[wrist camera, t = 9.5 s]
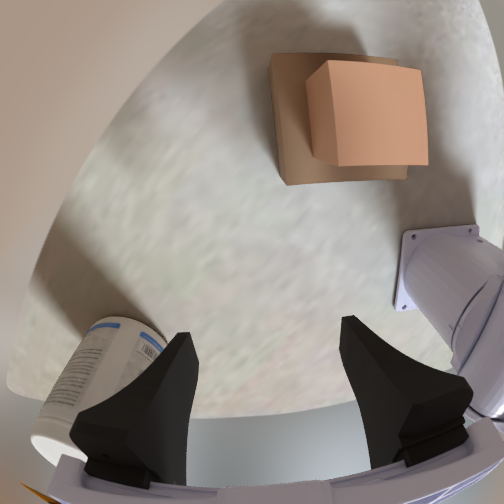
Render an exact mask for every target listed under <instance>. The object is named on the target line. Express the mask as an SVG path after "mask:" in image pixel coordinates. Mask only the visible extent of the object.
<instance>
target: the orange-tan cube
mask: <svg viewBox="0 0 504 504" xmlns="http://www.w3.org/2000/svg"><path fill="white" fill-rule="evenodd" d="M305 83H306V91H307V99H308V108H309V118H310V127H311V138H312V150H313V158H316V159H319V160H322V161H325V162H328V163H330V164H333V165H336V166H363V165H428V135H427V120H426V108H425V98H424V90H423V82H422V75H421V70H417V69H412V68H406V67H399V66H392V65H385V64H376V63H367V62H354V61H337V60H327V61H326V62H325V63H324V64H323V65H322V66H321V67H320V68H319V69H318V70H317V71H315V72H314V73H313V74H312V75H311V76H310V77H309V78H308V79H307V80H306V81H305Z"/></svg>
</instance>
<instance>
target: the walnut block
mask: <svg viewBox="0 0 504 504" xmlns="http://www.w3.org/2000/svg"><path fill="white" fill-rule="evenodd" d="M327 60H337V61H354V62H367V63H376V64H385V65H392V66H398V60H396V59H389V58H382V57H374V56H364V55H353V54H336V53H279V54H272V56H271V60H270V64H269V68H268V73H269V81H270V89H271V97H272V105H273V114H274V123H275V132H276V141H277V151H278V161H279V172H280V177H281V179H282V180H283V181H284V182H285V184H286V185H287V186H288V185H299V184H312V183H327V182H343V181H363V180H393V179H407V165H363V166H336V165H333V164H330V163H328V162H325V161H322V160H319V159H316V158H313V150H312V138H311V127H310V118H309V108H308V99H307V91H306V83H305V81H306V80H307V79H308V78H309V77H310V76H311V75H312V74H313V73H314V72H315V71H317V70H318V69H319V68H320V67H321V66H322V65H323V64H324V63H325V62H326V61H327Z"/></svg>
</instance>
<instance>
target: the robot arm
mask: <svg viewBox="0 0 504 504" xmlns="http://www.w3.org/2000/svg"><path fill="white" fill-rule="evenodd" d="M469 229H470V230H469ZM479 231H480V227H479V226H478V225H477V224H472V225H462V226H451V227H440V228H430V229H419V230H409V231H406V232H404V234H403V238H402V250H401V260H400V269H399V277H398V284H397V291H396V298H395V304H394V309H395V311H396V312H402V311H407V310H412V309H416V308H419V309H420V311H421V312H422V313H423V314H424V316H425V317H426V318H427V319H428V321H429V322H430V323H431V324H432V326H433V327H434V328H435V329H436V331H437V332H438V333H439V335H440V336H441V337H442V339H443V340H444V341H445V342H446V344H447V345H448V346H449V348H450V349H451V351H452V352H453V357H452V360H451V362H450V363H451V364H452V366H453V367H454V369H455V370H456V372H457V374H456V375H453V374H450V373H446V372H443V371H440V370H437V369H434V368H431V367H429V366H426V365H424V364H422V363H420V362H418V361H416V360H414V359H412V358H410V357H408V356H406V355H405V354H403V353H401V352H400V351H398V350H397V349H395V348H394V347H392V346H391V345H389V344H388V343H387V342H385V341H384V340H383V339H381V338H380V337H379V336H378V335H376V334H375V333H374V332H373V331H372V330H370V329H369V328H368V327H367V326H366V325H365V324H363V323H362V322H361V321H360V320H359V319H358V318H357V317H355V316H354V315H352V316H346V317H342V322H341V334H340V345H339V351H340V355H341V359H342V362H343V366H344V369H345V371H346V374H347V377H348V379H349V382H350V384H351V387H352V389H353V392H354V394H355V397H356V399H357V402H358V405H359V408H360V412H361V416H362V420H363V424H364V429H365V434H366V439H367V444H368V450H369V456H370V464H371V470H369V471H365V472H361V473H357V474H353V475H349V476H344V477H339V478H334V479H329V480H323V481H320V480H312V481H302V482H293V483H284V484H272V485H254V486H232V487H226V488H207V487H191V486H186V452H187V450H186V449H187V435H188V423H189V418H190V413H191V408H192V404H193V399H194V395H195V390H196V386H197V381H198V371H199V361H198V358H197V354H196V351H195V348H194V345H193V341H192V338H191V334H190V332H181V333H177V334H176V335H175V337H174V338H173V339H172V340H171V341H170V342H169V344H168V345H167V346H166V347H165V348H164V350H163V351H162V352H161V353H160V354H159V355H158V357H157V358H156V359H155V360H154V361H153V362H152V363H151V364H150V365H149V366H148V367H147V368H146V369H145V370H144V371H143V372H142V373H141V374H140V375H139V376H138V377H137V378H136V379H135V380H133V381H132V382H131V383H130V384H128V385H127V386H126V387H124V388H123V389H122V390H120V391H119V392H117V393H116V394H114V395H113V396H111V397H109V398H108V399H106V400H104V401H102V402H101V403H99V404H97V405H95V406H92V407H90V408H88V409H86V410H83V411H81V412H79V413H78V414H77V417H76V419H75V421H74V423H73V425H72V427H71V429H70V432H69V436H70V439H71V440H72V442H73V443H74V444H75V445H76V446H77V447H78V448H79V449H80V450H81V451H82V452H83V453H84V454H85V455H86V456H87V457H88V459H87V462H84V461H82V460H80V459H78V458H74V457H71V456H68V455H65V454H61V457H60V459H59V462H58V464H57V467H56V469H55V472H54V474H53V477H52V479H51V482H50V485H49V487H48V490H47V494H48V495H50V496H51V497H53V498H54V499H56V500H57V501H59V502H60V503H62V504H438V503H440V502H442V501H444V500H445V499H447V498H449V497H451V496H453V495H455V494H457V493H458V492H460V491H462V490H464V489H466V488H467V487H469V486H471V485H472V484H474V483H476V482H477V481H479V480H481V479H482V478H484V477H485V476H486V475H487V474H488V473H489V472H491V471H492V470H493V469H494V468H495V467H496V466H497V465H498V464H499V463H500V462H502V461H503V460H504V441H503V440H502V438H501V436H500V434H499V432H498V430H499V431H500V432H502V433H503V434H504V251H503V250H501V249H500V248H498V247H497V246H495V245H493V244H492V243H490V242H489V241H487V240H485V239H484V238H482V237H480V236H479ZM413 234H414V237H413V238H412V235H413ZM403 305H405V306H404V307H403ZM463 414H465V415H466V416H467V417H468V418H469V419H471V420H473V421H474V422H475V423H473V424H472V425H470V426H469V427H468V428H466V429H465V428H464V426H463V424H464V423H465V419H464V417H463Z"/></svg>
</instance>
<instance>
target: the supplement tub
mask: <svg viewBox="0 0 504 504" xmlns="http://www.w3.org/2000/svg"><path fill="white" fill-rule="evenodd" d="M166 346H167V344H166V342H165V341H164V340H163V339H162V338H161V337H160V336H159V335H158V334H157V333H156V332H155V331H154V330H152V329H151V328H149V327H148V326H146V325H145V324H143V323H141V322H139V321H136V320H133V319H130V318H125V317H107V318H103V319H101V320H99V321H97V322H96V323H94V324H93V325H92V327H91V328H90V329H89V331H88V332H87V334H86V335H85V337H84V338H83V340H82V341H81V343H80V344H79V346H78V348H77V349H76V351H75V352H74V354H73V355H72V357H71V359H70V360H69V362H68V363H67V365H66V367H65V368H64V370H63V372H62V373H61V375H60V377H59V378H58V380H57V382H56V384H55V385H54V387H53V389H52V391H51V392H50V394H49V396H48V398H47V399H46V401H45V403H44V405H43V407H42V409H41V411H40V413H39V415H38V417H37V420H36V421H35V426H34V429H33V431H32V433H31V436H30V438H31V442H32V444H33V446H34V447H35V448H36V449H37V450H38V452H39V453H40V454H41V455H42V456H44V457H45V458H46V459H47V460H48V461H49V462H51V463H52V464H53V465H55V466H56V467H57V464H58V462H59V459H60V457H61V454H65V455H68V456H71V457H74V458H78V459H80V460H82V461H84V462H87V459H88V457H87V456H86V455H85V454H84V453H83V452H82V451H81V450H80V449H79V448H78V447H77V446H76V445H75V444H74V443H73V442H72V440H71V439H70V436H69V432H70V429H71V427H72V425H73V423H74V421H75V419H76V417H77V414H78V413H79V412H81V411H83V410H86V409H88V408H90V407H92V406H95V405H97V404H99V403H101V402H102V401H104V400H106V399H108V398H109V397H111V396H113V395H114V394H116V393H117V392H119V391H120V390H122V389H123V388H124V387H126V386H127V385H128V384H130V383H131V382H132V381H133V380H135V379H136V378H137V377H138V376H139V375H140V374H141V373H142V372H143V371H144V370H145V369H146V368H147V367H148V366H149V365H150V364H151V363H152V362H153V361H154V360H155V359H156V358H157V357H158V355H159V354H160V353H161V352H162V351H163V350H164V348H165V347H166Z"/></svg>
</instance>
